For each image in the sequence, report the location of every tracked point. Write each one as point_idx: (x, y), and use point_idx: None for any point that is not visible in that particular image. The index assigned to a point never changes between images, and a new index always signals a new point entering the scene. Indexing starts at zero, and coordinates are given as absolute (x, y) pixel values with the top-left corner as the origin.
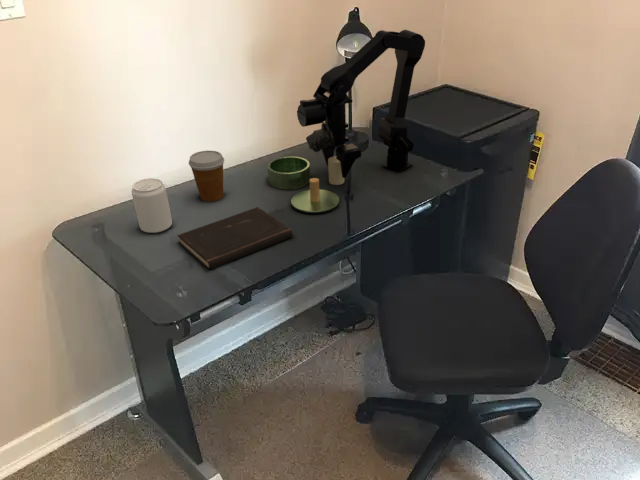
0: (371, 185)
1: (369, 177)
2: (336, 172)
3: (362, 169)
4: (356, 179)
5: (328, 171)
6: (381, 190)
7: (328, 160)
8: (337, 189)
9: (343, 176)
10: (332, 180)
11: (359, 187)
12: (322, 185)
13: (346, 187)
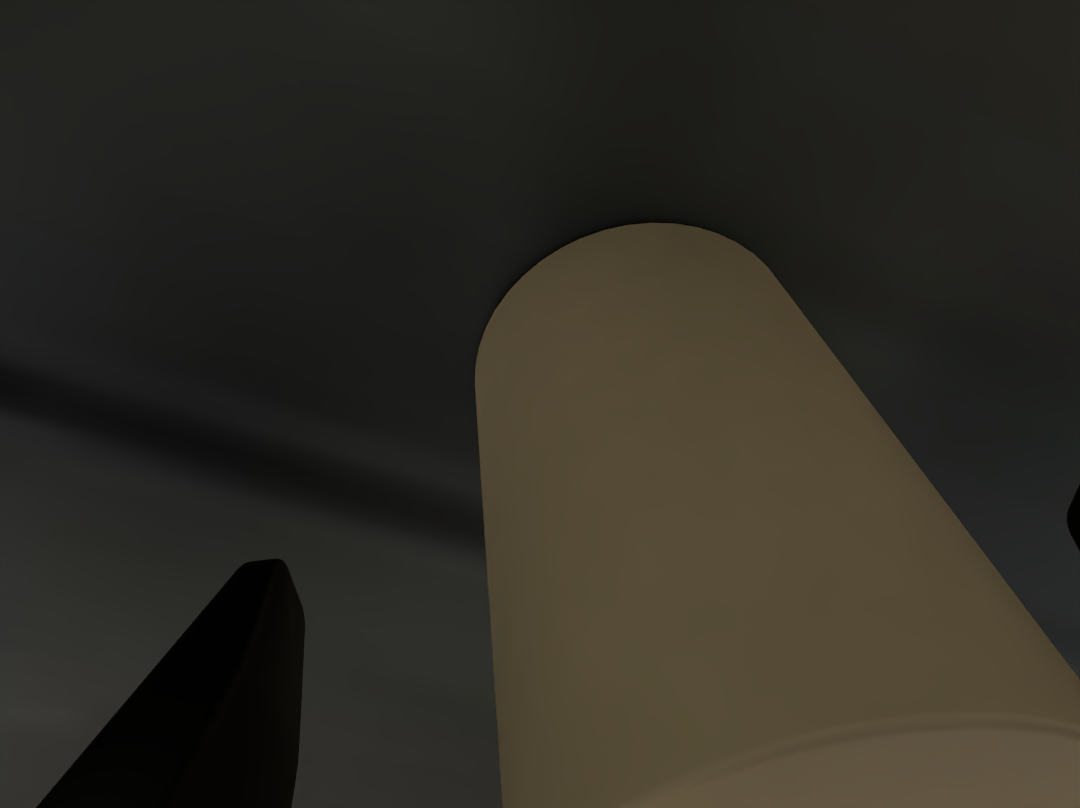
0: None
1: None
2: (506, 534)
3: None
4: None
5: (811, 372)
6: (51, 779)
7: (980, 721)
8: (271, 259)
9: (225, 598)
10: (558, 302)
11: None
12: (632, 7)
13: (308, 440)
